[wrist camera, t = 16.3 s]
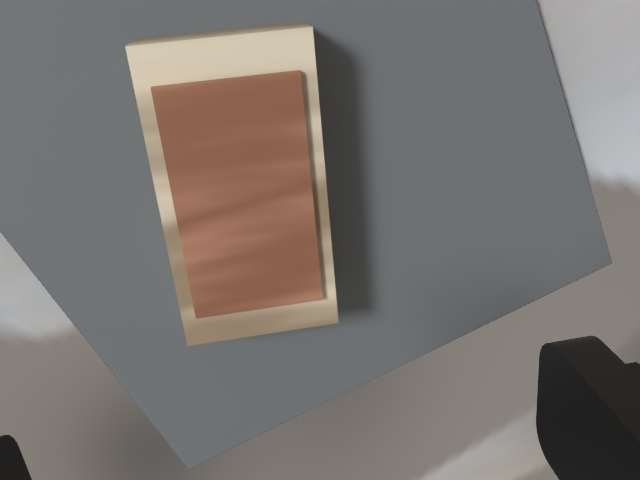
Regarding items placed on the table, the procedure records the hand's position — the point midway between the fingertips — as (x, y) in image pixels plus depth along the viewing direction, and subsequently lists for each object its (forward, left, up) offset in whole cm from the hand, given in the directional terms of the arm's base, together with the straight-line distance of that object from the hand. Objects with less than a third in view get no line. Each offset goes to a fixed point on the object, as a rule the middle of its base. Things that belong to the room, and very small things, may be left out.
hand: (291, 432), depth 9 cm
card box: (+3, +7, -16) cm, 18 cm away
